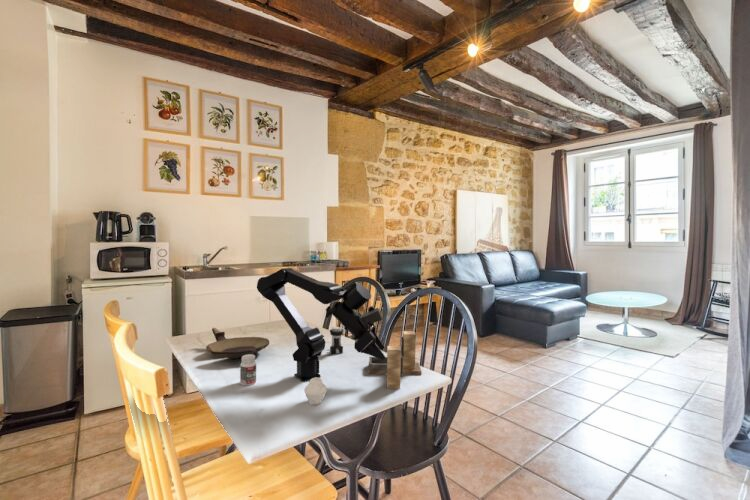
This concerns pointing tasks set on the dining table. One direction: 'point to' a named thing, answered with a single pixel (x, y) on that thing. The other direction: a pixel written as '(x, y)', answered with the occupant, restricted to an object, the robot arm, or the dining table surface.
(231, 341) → the oil lamp
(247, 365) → the pill bottle
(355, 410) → the dining table surface
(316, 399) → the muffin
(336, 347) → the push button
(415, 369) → the wooden pillar stand
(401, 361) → the oak finger
